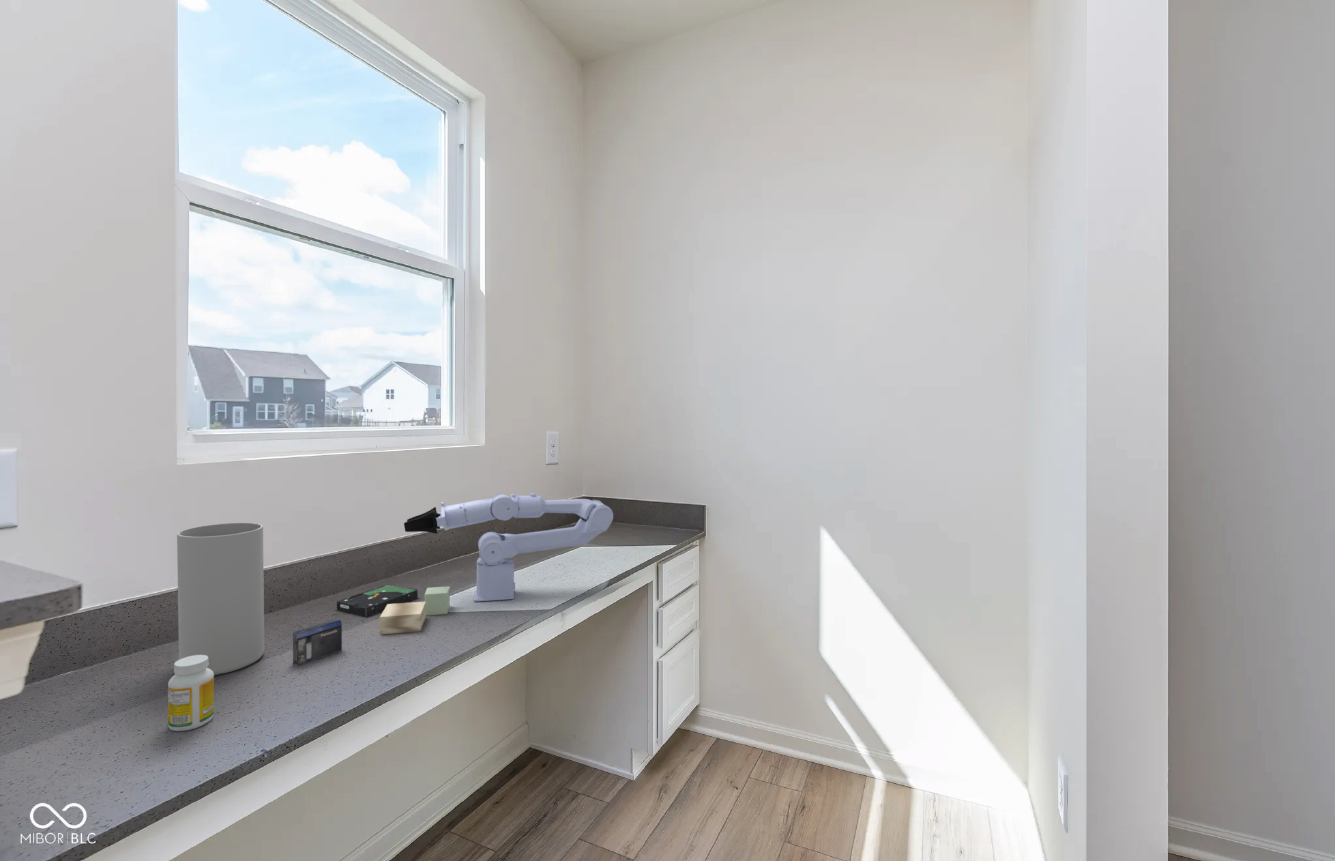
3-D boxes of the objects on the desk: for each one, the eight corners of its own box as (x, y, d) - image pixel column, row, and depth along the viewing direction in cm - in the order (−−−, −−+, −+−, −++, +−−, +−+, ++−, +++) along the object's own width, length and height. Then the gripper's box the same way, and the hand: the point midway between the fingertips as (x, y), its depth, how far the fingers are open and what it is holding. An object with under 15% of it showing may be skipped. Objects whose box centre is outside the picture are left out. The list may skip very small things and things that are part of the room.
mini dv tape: (297, 665, 106) (297, 633, 106) (293, 663, 107) (292, 632, 106) (341, 650, 113) (341, 620, 113) (337, 648, 114) (337, 618, 113)
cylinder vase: (162, 680, 99) (159, 538, 98) (205, 650, 111) (203, 523, 110) (243, 675, 102) (241, 536, 101) (276, 646, 114) (275, 522, 113)
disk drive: (367, 620, 130) (418, 599, 144) (366, 608, 130) (418, 588, 144) (335, 612, 134) (388, 593, 148) (335, 601, 134) (388, 582, 148)
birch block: (425, 618, 131) (425, 601, 131) (420, 632, 123) (420, 613, 123) (387, 621, 129) (387, 604, 128) (379, 635, 121) (379, 616, 121)
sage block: (449, 606, 138) (449, 586, 138) (447, 614, 133) (447, 592, 133) (427, 608, 137) (427, 587, 137) (424, 615, 132) (424, 594, 132)
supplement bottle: (172, 736, 83) (171, 671, 82) (164, 723, 86) (163, 660, 86) (218, 721, 87) (217, 659, 87) (209, 709, 90) (208, 649, 90)
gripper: (462, 496, 150) (406, 506, 145) (462, 500, 136) (400, 511, 131) (466, 523, 150) (410, 534, 145) (467, 529, 136) (405, 542, 131)
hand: (406, 525), depth 138 cm, fingers open, 7 cm apart
